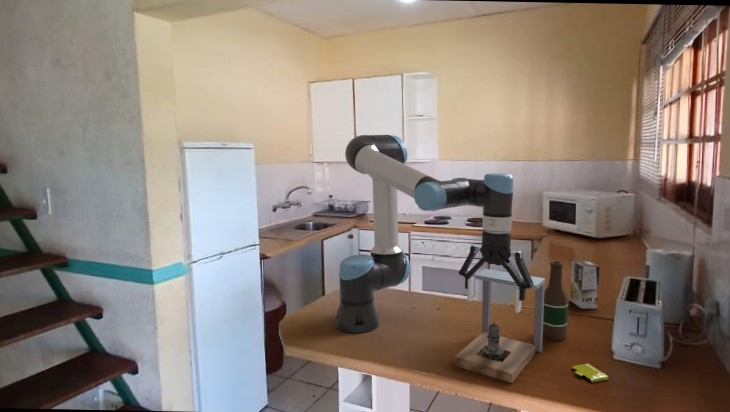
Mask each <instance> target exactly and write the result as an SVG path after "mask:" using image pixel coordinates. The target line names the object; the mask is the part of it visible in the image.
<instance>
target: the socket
mask: <svg viewBox="0 0 730 412" xmlns="http://www.w3.org/2000/svg"><path fill="white" fill-rule="evenodd" d="M487 336H488V333H485V332H482V331H481V333H480V334H479V335H478V336H477V337H475V338H474V339H473V340H472V341H471V342H470V343H469V344H467V345H466V346H465V347H464V348H463V349H462V350H460V352H458V353H457V354H456V355H455V356H454V366H455V367H459V368H462V369H465V370H469V371H472V372H475V373H477V374H481V375H484V376H488V377H491V378H495V379H496V380H500V381H504V382H506V383H511V384H512V383H513V382H514V381H515V379H516V378H517V377H518V376H519V375H520V373H521V372H522V371H523V370H524V368H525V367H526V366H527V365H528V363H529V362H530V361H531V359H532V358H533V357H534V356H535V354H536V351H535V345H533V343H528V342H524V341H520V340H517V339H513V338H508V337H504V336H500V335H499V337H500V339H499V347H500V348H502V349H503V350H504V353H503V356H502V358H501V359H504V360H503V361H502V362H498V361H495V360H491V359H488V358H486V357H485V355H484V351H483V347H485V346H487V345H488V338H487Z"/></svg>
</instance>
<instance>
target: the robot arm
mask: <svg viewBox="0 0 730 412" xmlns="http://www.w3.org/2000/svg"><path fill="white" fill-rule="evenodd" d="M408 155H409V154H408V149H407V145H406V143H405V142H404V141H403V140H402V139H401V137H399V136H396V135H392V134H369V135H368V134H362V135H357V136H355V137H354V138H352V139H351V140H350V141H349V142H348V143H347V145H346V148H345V151H344V156H345V160H346V163H347V164H348V165H349V167H351V168H352V169H353V170H354V171H356V172H357V173H360V174H361V175H368V176H369V177H370V178H371V179H372V199H373V200H372V204H373V205H372V206H373V207H372V208H373V209H372V210H373V234H374V235H373V238H374V239H373V240H374V241H373V242H374V245H373V247H371V249H370V254H355V255H350V256H347V257H345V258H343V259H342V260H341V261H340V264H339V269H338V270H339V271H338V276H339V300H340V301H339V306H338V310H337V313H336V316H335V327H336V328H337V329H338V330H340V331H342V332H345V333H352V334H353V333H354V334H361V333H367V332H372V331H373V330H376V329H377V328H378V327H380V315H379V314H378V311H377V307H376V305H375V292H378V291H381V290H384V289H388V288H393V287H397V286H398V285H401V284H403V283H404V282H406V280H408V278H409V276H410V271H411V264H410V260H409V259H408V256H407V255H406V254H405V253H404V249H403V248H402V247H401V246H400V245H399V221H398V220H399V214H398V191H399V192H401V193H403V194H405V195H407V196H409V197H410V198H413V200H414V203H415V204H416V205H417V207H418V208H419V209H421V210H422V211H425V212H427V211H431V212H435V211H439V210H445V209H450V208H451V209H452V208H459V207H465V206H471V207H478V208H482V228H481V229H483V231H482V232H481V246H480V245H478V244H476V243H475V244H472V245H471V246H470V247H469V254H467V257H466V259H465V261H464V263H463V264H462V266H461V268H460V270H459V271H458V275H460V276H462V277H464V289H465V290H467V298H466V299H467V300H466V301H467V302H468V303H470V302H472V301H473V300H474V299H475V297H474V296H475V295H474V293H475V277H473V275H474V274H475V273H476V272H478V270H480V269H481V268H482V267H483V265H485V264H486V263H487V264H488V265H495V266H502V267H503V268H504V269H505V270H506V272H508V273H509V274H510V276H511V277H512V279H513V280H514V281H515V283H516V284H517V286H516V287H517V288H516V289H515V307H514V313H516V314H519V312H520V311H522V302H524V301H525V299H526V290H527V289H529V290H530V288H531V287H532V286H533V285H534V284H533V281H532V279H531V277H530V276H531V275H530V272H529V270H528V267H527V265H526V262H525V259H524V258H523V257H524V256H523V255H524V254H523V251H522V250H518V251H512V248H511V245H512V244H511V243H512V242H511V241H512V233H511V232H510V231H512V223H513V222H512V218H513V216H512V215H513V197H514V191H515V190H514V178H513V175H512V174H510V173H499V172H496V173H491V172H490V173H486V174H485V175H484V177H483V179H476V178H475V179H473V178H467V177H455V178H452V179H451V180H450V179H449V180H439V179H436V178H434V177H432V176H429V175H428V174H426V173H424V172H422V171H419V170H418V169H415V168H414V167H411V166H409V165H407V164H406V162H407V160H408ZM479 252H480V253H481V255H482V258H480V259H479V261H478V262H477V263H475V264H474V266H473V267H472V268H470V266H471V264H472V263H473V261H474V259H475V257H476V256H477V254H479ZM510 257H512V258H513V260H515V264H516V267H517V268H518V271H517V269H516V268H515V266H514V265H513V262H512V261H511V259H510ZM469 268H470V269H469ZM468 269H469V271H468ZM519 274H520V275H521V276H522V278H523V279H522V278H521V276H520V275H519Z"/></svg>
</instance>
